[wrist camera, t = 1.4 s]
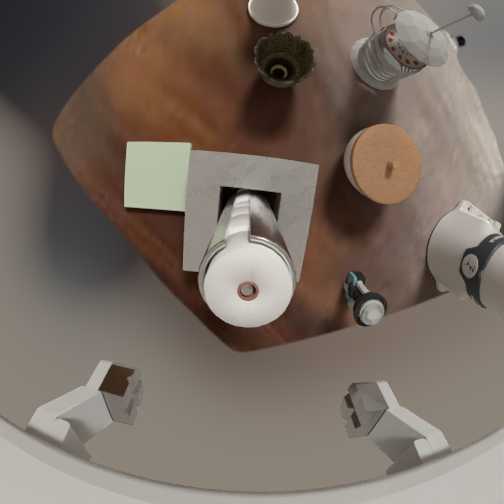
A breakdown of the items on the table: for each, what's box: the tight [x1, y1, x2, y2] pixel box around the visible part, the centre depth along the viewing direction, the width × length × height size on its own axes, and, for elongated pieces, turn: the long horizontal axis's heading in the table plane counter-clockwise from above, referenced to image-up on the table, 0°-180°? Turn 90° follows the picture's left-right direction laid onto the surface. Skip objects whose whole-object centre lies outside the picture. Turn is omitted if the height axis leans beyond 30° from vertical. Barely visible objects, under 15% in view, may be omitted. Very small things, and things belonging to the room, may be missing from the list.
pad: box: [124, 142, 193, 211], centre depth 38 cm, size 10×10×1 cm
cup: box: [254, 31, 316, 88], centre depth 30 cm, size 8×7×8 cm
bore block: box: [183, 150, 319, 282], centre depth 38 cm, size 16×16×6 cm
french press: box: [350, 4, 485, 90], centre depth 20 cm, size 10×12×25 cm
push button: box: [344, 272, 387, 326], centre depth 40 cm, size 7×5×10 cm
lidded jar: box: [344, 124, 421, 205], centre depth 34 cm, size 11×11×9 cm
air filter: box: [198, 188, 296, 327], centre depth 29 cm, size 6×6×25 cm
